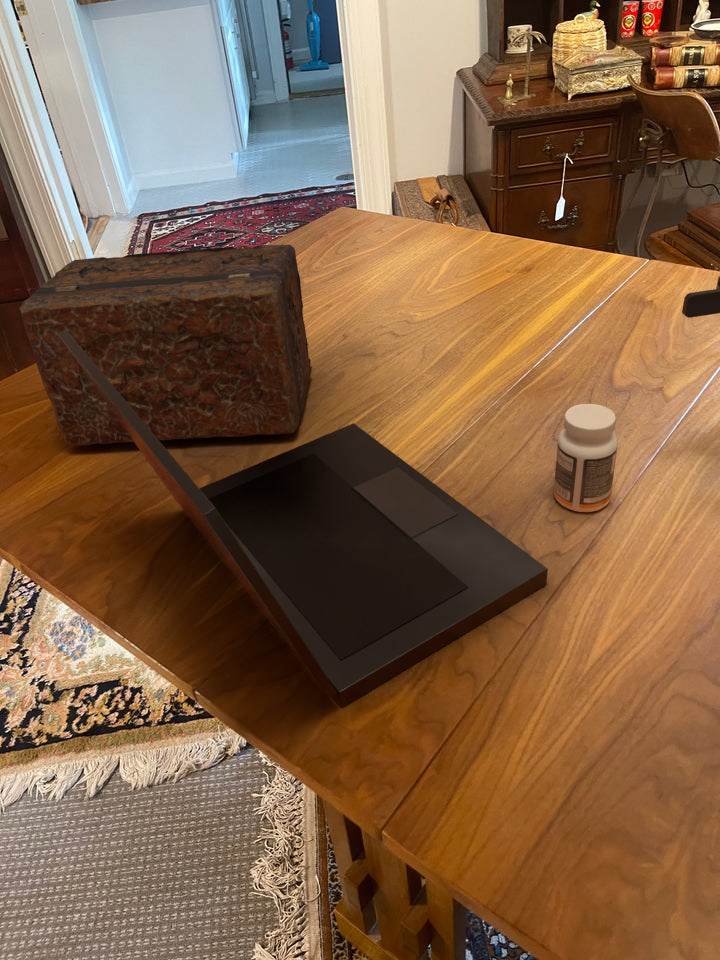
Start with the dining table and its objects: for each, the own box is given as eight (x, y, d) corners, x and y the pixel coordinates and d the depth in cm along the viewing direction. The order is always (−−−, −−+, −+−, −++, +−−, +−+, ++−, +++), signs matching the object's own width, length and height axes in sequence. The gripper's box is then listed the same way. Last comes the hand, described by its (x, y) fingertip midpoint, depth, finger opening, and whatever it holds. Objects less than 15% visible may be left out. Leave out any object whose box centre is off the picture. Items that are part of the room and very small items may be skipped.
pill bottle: (611, 484, 77) (623, 402, 71) (608, 518, 73) (621, 434, 67) (555, 478, 79) (562, 397, 73) (549, 511, 74) (556, 428, 69)
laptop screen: (66, 328, 64) (57, 333, 64) (216, 506, 41) (203, 515, 41) (182, 495, 79) (175, 500, 79) (339, 692, 56) (329, 700, 56)
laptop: (355, 436, 89) (353, 421, 87) (546, 584, 66) (548, 568, 65) (186, 509, 80) (182, 494, 79) (341, 708, 58) (339, 691, 56)
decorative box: (101, 395, 105) (55, 462, 88) (62, 252, 95) (1, 296, 78) (314, 379, 105) (310, 443, 87) (298, 233, 94) (290, 273, 77)
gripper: (837, 234, 70) (676, 256, 69) (959, 287, 59) (768, 316, 57) (814, 308, 74) (663, 330, 73) (924, 371, 63) (746, 399, 62)
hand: (709, 324), depth 65 cm, fingers open, 8 cm apart
